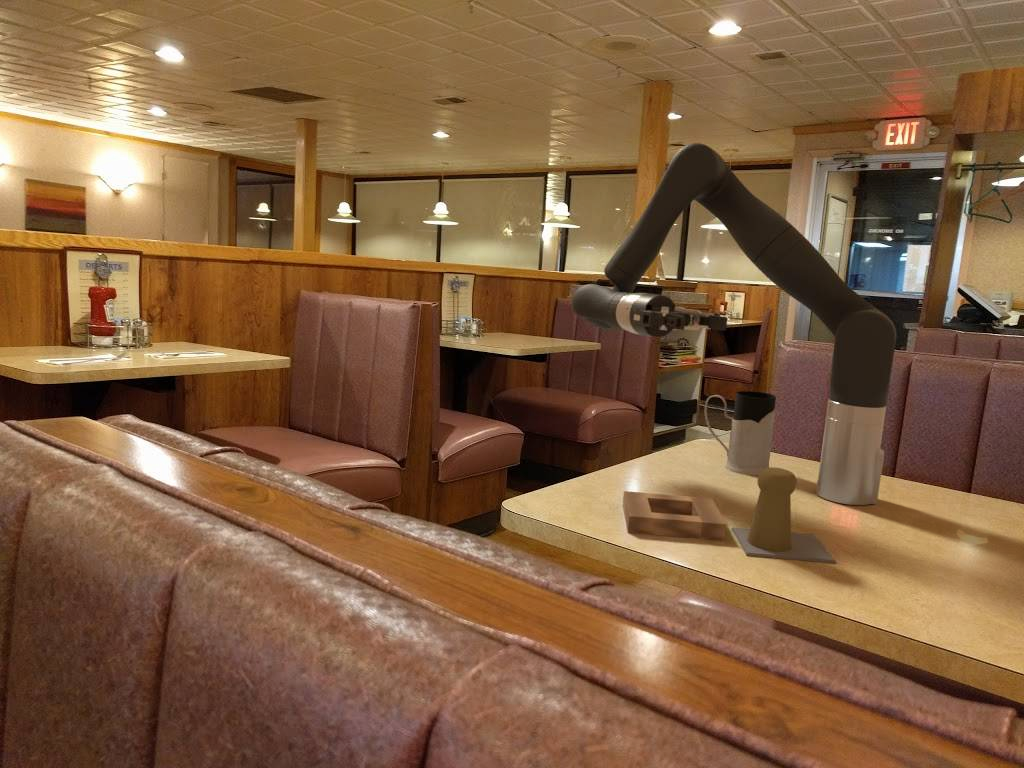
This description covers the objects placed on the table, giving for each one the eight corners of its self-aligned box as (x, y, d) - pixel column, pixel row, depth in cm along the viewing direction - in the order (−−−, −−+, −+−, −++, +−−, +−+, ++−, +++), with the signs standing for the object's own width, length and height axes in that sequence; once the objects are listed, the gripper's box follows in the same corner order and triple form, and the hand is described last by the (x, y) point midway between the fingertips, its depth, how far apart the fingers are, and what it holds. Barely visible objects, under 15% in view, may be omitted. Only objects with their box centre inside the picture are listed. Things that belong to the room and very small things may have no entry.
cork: (794, 554, 105) (804, 477, 103) (749, 548, 106) (758, 472, 104) (788, 538, 111) (797, 466, 109) (745, 533, 112) (753, 461, 110)
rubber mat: (812, 536, 113) (813, 534, 113) (835, 563, 103) (835, 560, 103) (731, 529, 114) (732, 527, 114) (746, 555, 104) (746, 552, 104)
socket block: (710, 513, 121) (711, 498, 121) (724, 540, 109) (726, 524, 109) (622, 505, 122) (623, 491, 122) (627, 532, 110) (629, 516, 110)
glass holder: (763, 478, 144) (773, 400, 141) (691, 463, 151) (699, 389, 149) (775, 468, 151) (784, 395, 148) (706, 455, 158) (713, 384, 156)
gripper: (614, 292, 132) (670, 299, 118) (679, 294, 138) (741, 301, 124) (610, 334, 134) (666, 346, 119) (675, 335, 140) (736, 346, 125)
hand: (704, 323), depth 122 cm, fingers open, 8 cm apart
